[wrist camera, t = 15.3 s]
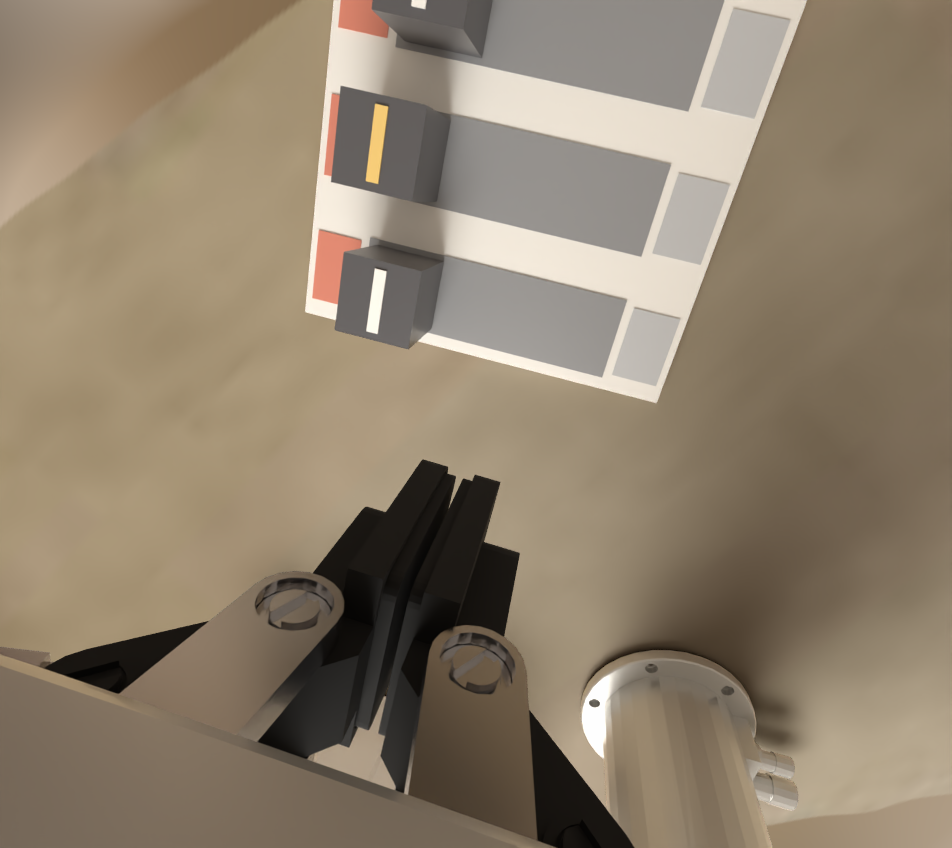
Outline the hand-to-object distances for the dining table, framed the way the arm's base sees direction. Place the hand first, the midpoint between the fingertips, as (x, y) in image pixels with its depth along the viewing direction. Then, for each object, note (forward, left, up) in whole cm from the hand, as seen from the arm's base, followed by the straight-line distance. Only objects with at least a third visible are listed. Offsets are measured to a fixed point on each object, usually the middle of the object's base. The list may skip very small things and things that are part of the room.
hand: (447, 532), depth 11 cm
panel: (+3, -7, -24) cm, 25 cm away
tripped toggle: (+9, -7, -22) cm, 25 cm away
